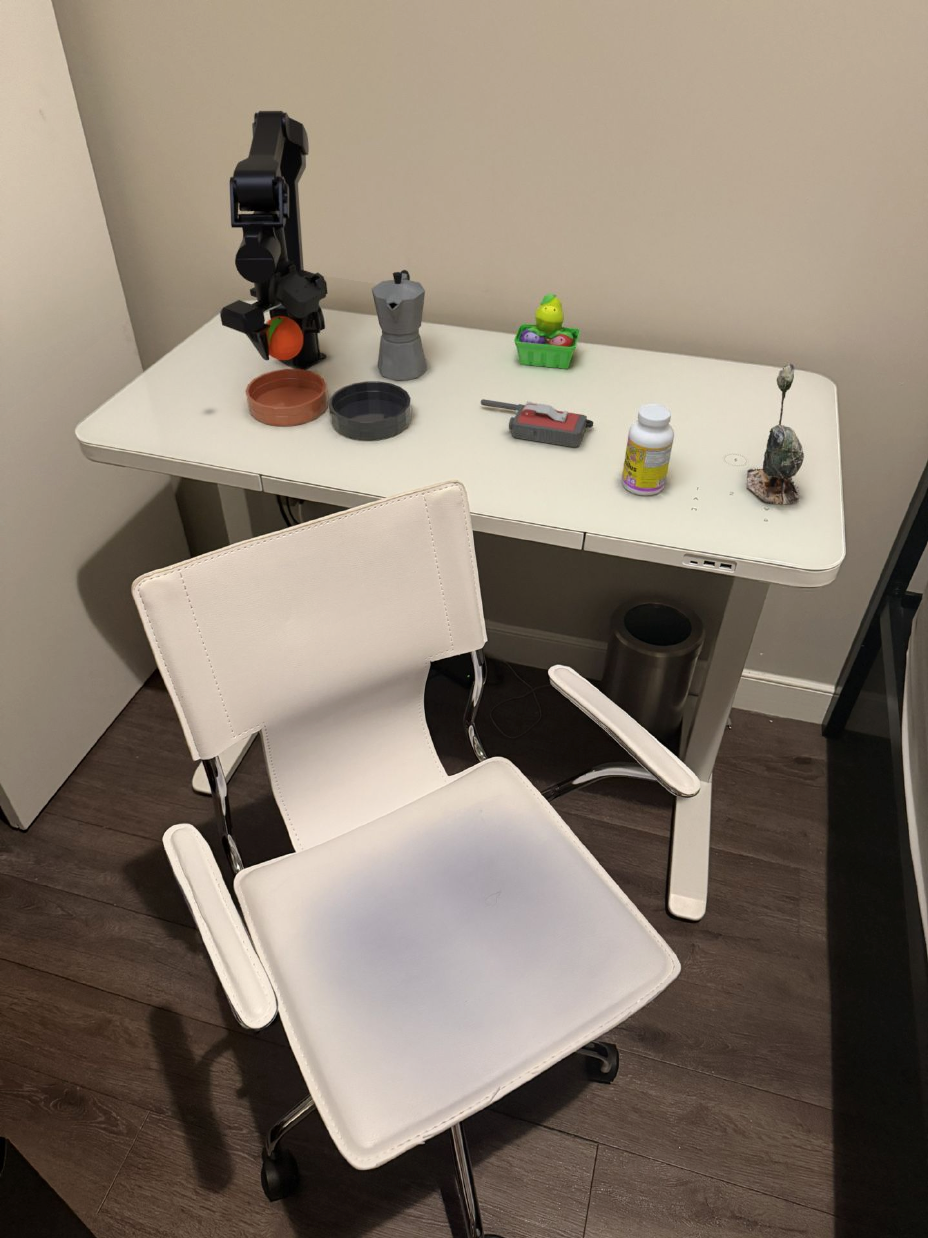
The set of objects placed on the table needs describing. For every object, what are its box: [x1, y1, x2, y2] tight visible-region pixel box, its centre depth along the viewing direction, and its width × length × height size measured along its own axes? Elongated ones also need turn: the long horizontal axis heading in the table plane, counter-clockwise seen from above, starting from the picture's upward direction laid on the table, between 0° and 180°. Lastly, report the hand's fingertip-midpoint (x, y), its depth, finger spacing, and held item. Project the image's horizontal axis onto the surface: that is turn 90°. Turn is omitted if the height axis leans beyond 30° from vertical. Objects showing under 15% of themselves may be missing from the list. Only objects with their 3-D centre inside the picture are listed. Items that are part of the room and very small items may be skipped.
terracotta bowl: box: [245, 368, 329, 427], centre depth 154 cm, size 14×14×4 cm
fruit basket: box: [514, 293, 581, 370], centre depth 164 cm, size 11×9×11 cm
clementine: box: [264, 316, 303, 361], centre depth 146 cm, size 8×7×7 cm
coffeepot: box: [371, 269, 428, 382], centre depth 159 cm, size 15×9×18 cm, turn 174°
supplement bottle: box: [621, 403, 675, 496], centre depth 133 cm, size 7×7×13 cm
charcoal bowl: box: [328, 380, 412, 442], centre depth 150 cm, size 14×14×4 cm
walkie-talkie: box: [480, 398, 594, 448], centre depth 148 cm, size 9×4×20 cm
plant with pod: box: [746, 363, 805, 505], centre depth 129 cm, size 8×11×20 cm
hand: (282, 350), depth 148 cm, fingers closed on clementine, 7 cm apart
